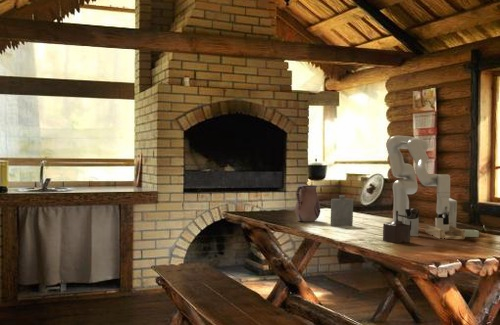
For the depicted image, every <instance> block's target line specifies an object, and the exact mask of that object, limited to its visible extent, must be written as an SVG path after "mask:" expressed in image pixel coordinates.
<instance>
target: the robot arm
mask: <svg viewBox="0 0 500 325" xmlns="http://www.w3.org/2000/svg"><path fill="white" fill-rule="evenodd" d="M386 143H387V144H386V152H387V154H388V157H389V163H390V168H391V169H390V170H391V173H392V176H393V177H395V178H399V179H397V180H395V181H394V182H393V184H392V193H393V210H392V212H393V213H392V214H393V215H392V218H393V219H392V220H391V221H389V222H387V221H385V223H384V224H386V223H391V222H393V221H396V211H398V214H399V215H402V214H403V213H404V212H405V209H410V199H409V196H408V195H414V194H415V193H417V191H418V189H419V188H418V187H419V186H418V181H419V182H420V184H421V185H422V186H425V187H436V210H435V212H436V214H437V218H443V216H444V218H443V224H444V225H448V224H449V198H451V176H450V174H446V173H445V174H443V173H442V174H441V173H438V174H437V173H429V172H428V171H427V169H426V167H425V164H426V163H427V162H428V161H429V156H428V154H427V151H428V148H429V144H428V142H427V141H426V140H424V139H422V138H418V137H415V136H409V135H400V134H399V135H393V136H391V137H390V138H389V139H388V141H387V142H386ZM401 150H408V152H409V154H410V156H411V158H412V159H413V161H414V163H415V167H414V165H412V164H410V163H405V160H404V155H403V153H402V152H401ZM403 215H404V216H405V213H404V214H403ZM398 221H402V217H401V216H398ZM403 222H404V224H405V217H403Z"/></svg>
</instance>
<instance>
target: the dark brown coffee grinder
mask: <svg viewBox="0 0 500 325" xmlns="http://www.w3.org/2000/svg"><path fill="white" fill-rule="evenodd" d="M410 209H411V210H410V212H411V215H410V216H404V215H399V214H398V211H396V221H393V220H392V221H393V222H392V221H390V222H391V223H386V222H385V223H386V224H385V223H383V228H382V241H383V242H388V243H392V244H404V243H411V236H410V225H407V224H404V223H403V222H402V221H398V216H401V217H406V218H413V217H415V215H416V214H417V213H418V211H417V210H418V209H416V208H410Z"/></svg>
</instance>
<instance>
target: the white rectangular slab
mask: <svg viewBox="0 0 500 325" xmlns="http://www.w3.org/2000/svg"><path fill="white" fill-rule="evenodd" d="M434 219H435V222H434V223H435V224H434V227H436V228H439V229H442V230H443V233H444V230H448V231H449V224H448V225H444V224H443V218H438V217H435V218H434Z"/></svg>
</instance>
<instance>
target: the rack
mask: <svg viewBox="0 0 500 325" xmlns="http://www.w3.org/2000/svg"><path fill="white" fill-rule="evenodd" d="M462 229H463V228H462ZM462 229H461V228H458V227H457V226H456V227H453V226H450V225H449V231H452V234H453V235H454V236H443V230H442V229H439V228H436V227H435V225H434V226H433V225H430V224H425V233H426V234H428V235H430V236H432V235H433V236H432V237H435V238H438V239H440V238H442V239H441V240H465V238H466V237H465V230H462ZM444 238H445V239H444Z"/></svg>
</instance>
